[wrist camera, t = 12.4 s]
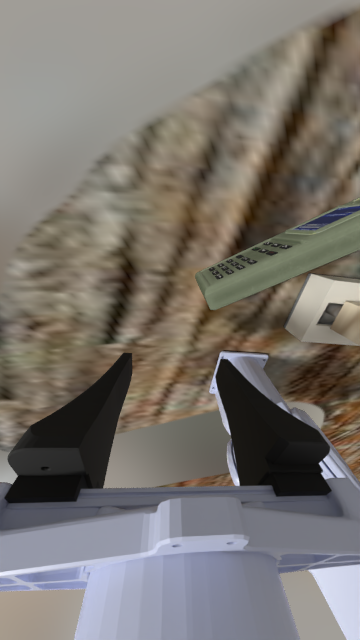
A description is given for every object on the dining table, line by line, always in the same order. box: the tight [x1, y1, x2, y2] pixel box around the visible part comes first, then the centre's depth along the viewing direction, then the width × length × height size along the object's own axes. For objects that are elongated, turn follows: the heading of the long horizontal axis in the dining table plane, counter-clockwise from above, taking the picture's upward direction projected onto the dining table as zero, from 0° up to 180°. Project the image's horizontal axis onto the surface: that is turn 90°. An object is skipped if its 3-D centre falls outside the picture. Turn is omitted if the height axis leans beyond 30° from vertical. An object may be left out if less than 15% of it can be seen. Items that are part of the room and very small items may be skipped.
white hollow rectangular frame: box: [284, 273, 360, 346], centre depth 22 cm, size 16×8×4 cm, turn 83°
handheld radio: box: [195, 198, 360, 310], centre depth 16 cm, size 7×3×25 cm
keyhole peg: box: [319, 301, 360, 346], centre depth 19 cm, size 4×4×8 cm
